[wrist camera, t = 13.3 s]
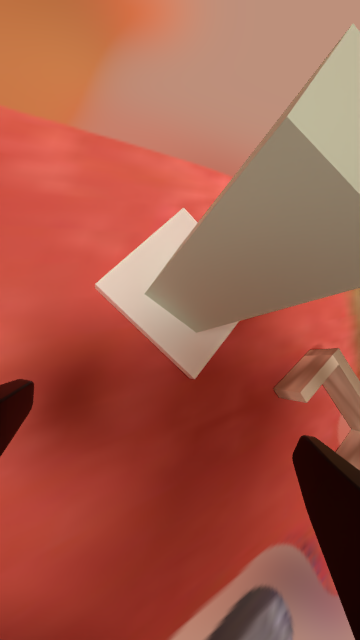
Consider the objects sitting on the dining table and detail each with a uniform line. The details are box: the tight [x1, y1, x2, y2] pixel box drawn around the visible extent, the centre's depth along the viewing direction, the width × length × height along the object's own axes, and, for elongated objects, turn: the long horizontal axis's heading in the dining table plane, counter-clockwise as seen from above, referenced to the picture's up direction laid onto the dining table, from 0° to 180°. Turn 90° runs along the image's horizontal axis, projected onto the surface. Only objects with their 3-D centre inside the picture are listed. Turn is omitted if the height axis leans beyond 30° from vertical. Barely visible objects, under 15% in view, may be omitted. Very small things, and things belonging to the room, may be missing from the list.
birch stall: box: [273, 348, 360, 470], centre depth 22 cm, size 6×10×3 cm, turn 36°
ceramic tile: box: [95, 208, 239, 379], centre depth 20 cm, size 10×10×1 cm
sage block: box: [145, 24, 360, 333], centre depth 13 cm, size 5×5×14 cm
